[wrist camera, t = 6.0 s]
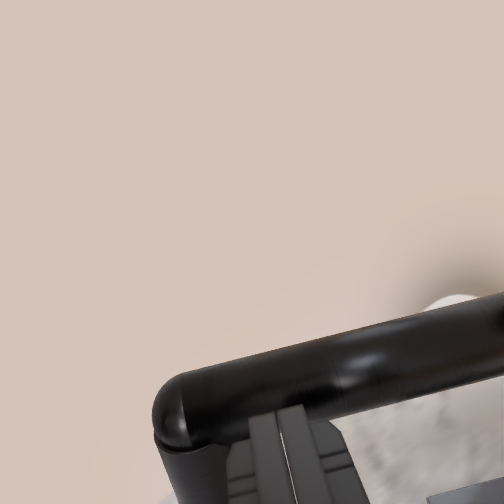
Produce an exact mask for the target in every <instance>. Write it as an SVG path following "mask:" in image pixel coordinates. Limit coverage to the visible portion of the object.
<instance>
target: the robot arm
mask: <svg viewBox="0 0 504 504" xmlns="http://www.w3.org/2000/svg"><path fill="white" fill-rule="evenodd" d="M276 411H277V415H278V420H279V424H280V428H281V433H282V437H283V442H284V446H285V450H286V455H287V459H288V463H289V468H290V472H291V476H292V481H293V485H294V489H295V494H296V498H297V502H298V504H370V502H369V499H368V497H367V495H366V492H365V490H364V487H363V485H362V482H361V480H360V477H359V475H358V473H357V470H356V468H355V466H354V463H353V460H352V458H351V456H350V453H349V452H348V448H347V446H346V443H345V441H344V438H343V436H342V434H341V431H339V430H338V429H337V428H336V427H335V426H334V425H333V424H332V423H331V422H330V421H329V420H327V419H325V420H321V421H317V422H314V423H310V424H309V423H308V420H307V416H306V413H305V410H304V407H303V405H302V404H300V405H296V406H292V407H288V408H284V409H280V410H276ZM248 423H249V430H250V438H251V439H248V440H244V441H240V442H236V443H233V444H232V447H231V449H230V452H229V455H228V457H227V460H226V470H227V482H228V483H227V488H228V498H229V499H228V504H297V503H296V499H295V494H294V490H293V486H292V481H291V477H290V472H289V468H288V464H287V460H286V456H285V452H284V448H283V444H282V440H281V436H280V432H279V428H278V424H277V420H276V416H275V412H274V411H272V412H269V413H265V414H261V415H257V416H253V417H249V418H248Z"/></svg>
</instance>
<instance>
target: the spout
mask: <svg viewBox="0 0 504 504" xmlns="http://www.w3.org/2000/svg"><path fill="white" fill-rule="evenodd" d="M503 375H504V292H501V293H497V294H493V295H489V296H485V297H481V298H477V299H473V300H469V301H465V302H461V303H457V304H453V305H449V306H445V307H441V308H438V309H434V310H430V311H426V312H422V313H418V314H414V315H410V316H406V317H402V318H398V319H394V320H390V321H386V322H382V323H378V324H375V325H370V326H366V327H362V328H359V329H354V330H351V331H347V332H343V333H339V334H335V335H331V336H327V337H323V338H319V339H315V340H311V341H307V342H303V343H299V344H295V345H292V346H288V347H283V348H279V349H276V350H271V351H267V352H264V353H260V354H256V355H252V356H248V357H244V358H240V359H236V360H232V361H228V362H225V363H220V364H217V365H213V366H208V367H204V368H200V369H197V370H192V371H188V372H185V373H181V374H179V375H176V376H175V377H173V378H171V379H170V380H169V381H167V382H166V383H165V384H164V385H163V386H162V388H161V389H160V390H159V392H158V394H157V396H156V398H155V400H154V404H153V408H152V422H153V427H154V440H155V443H156V446H157V448H158V451H159V453H160V456H161V458H162V461H163V464H164V466H165V469H166V471H167V474H168V476H169V479H170V482H171V484H172V487H173V489H174V492H175V494H176V497H177V500H178V502H179V504H228V499H229V498H228V488H227V483H228V482H227V470H226V460H227V457H228V455H229V452H230V449H231V447H232V444H233V443H236V442H240V441H244V440H248V439H251V438H250V430H249V423H248V418H249V417H253V416H257V415H261V414H265V413H269V412H272V411H274V412H275V416H276V420H277V424H278V428H279V432H280V433H281V428H280V424H279V420H278V415H277V411H276V410H280V409H284V408H288V407H292V406H296V405H300V404H302V405H303V407H304V410H305V413H306V416H307V420H308V423H309V424H310V423H314V422H317V421H321V420H325V419H327V420H332V419H336V418H340V417H344V416H348V415H352V414H355V413H359V412H363V411H367V410H371V409H375V408H379V407H383V406H387V405H390V404H394V403H398V402H402V401H406V400H410V399H414V398H418V397H421V396H425V395H429V394H433V393H437V392H441V391H445V390H449V389H452V388H456V387H460V386H464V385H468V384H472V383H476V382H480V381H483V380H487V379H491V378H495V377H499V376H503Z"/></svg>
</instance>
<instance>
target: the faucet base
mask: <svg viewBox="0 0 504 504" xmlns="http://www.w3.org/2000/svg"><path fill="white" fill-rule="evenodd" d="M426 499H427V504H504V477H502V478H498V479H494V480H490V481H487V482H483V483H479V484H475V485H471V486H468V487H464V488H460V489H456V490H452V491H449V492H445V493H441V494H437V495H434V496H430V497H427V498H426Z"/></svg>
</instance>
